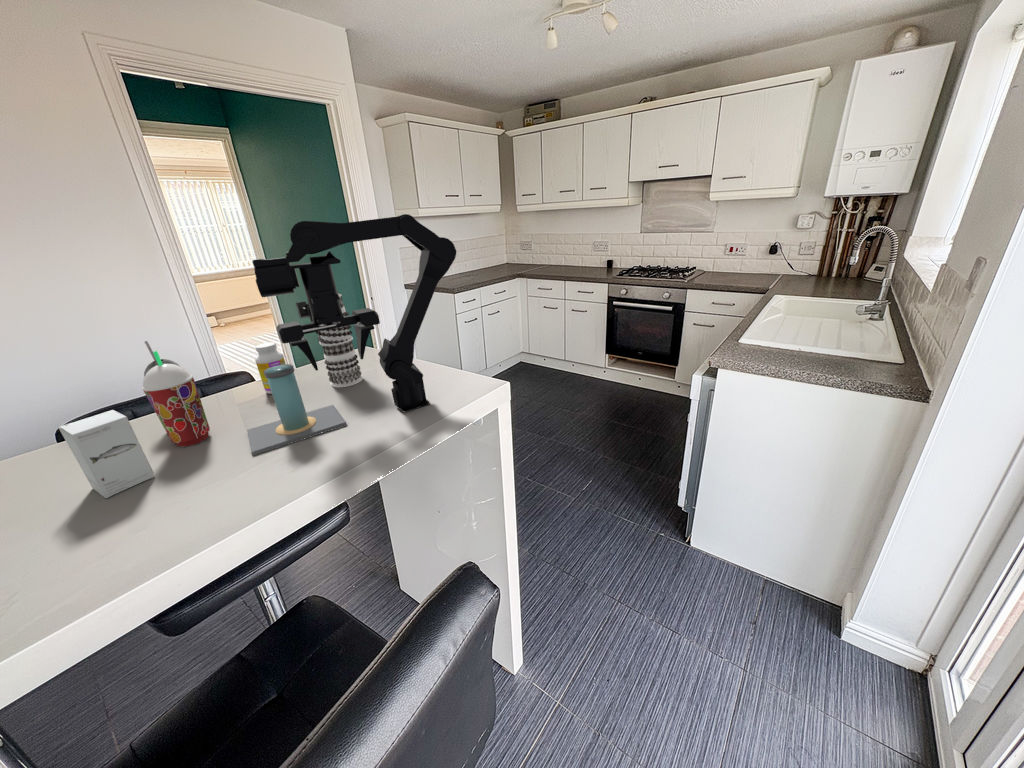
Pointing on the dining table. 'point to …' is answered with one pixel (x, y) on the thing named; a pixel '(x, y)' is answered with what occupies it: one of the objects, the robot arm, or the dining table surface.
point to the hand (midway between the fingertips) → (339, 364)
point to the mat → (277, 436)
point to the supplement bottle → (268, 361)
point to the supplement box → (108, 452)
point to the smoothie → (176, 403)
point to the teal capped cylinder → (287, 396)
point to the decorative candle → (340, 354)
